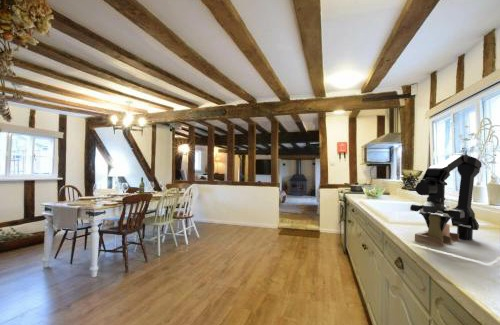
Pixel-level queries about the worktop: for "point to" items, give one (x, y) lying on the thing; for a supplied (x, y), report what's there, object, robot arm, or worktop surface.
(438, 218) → the cork
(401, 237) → the worktop surface
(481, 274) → the worktop surface
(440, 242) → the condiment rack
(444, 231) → the block
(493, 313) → the worktop surface
